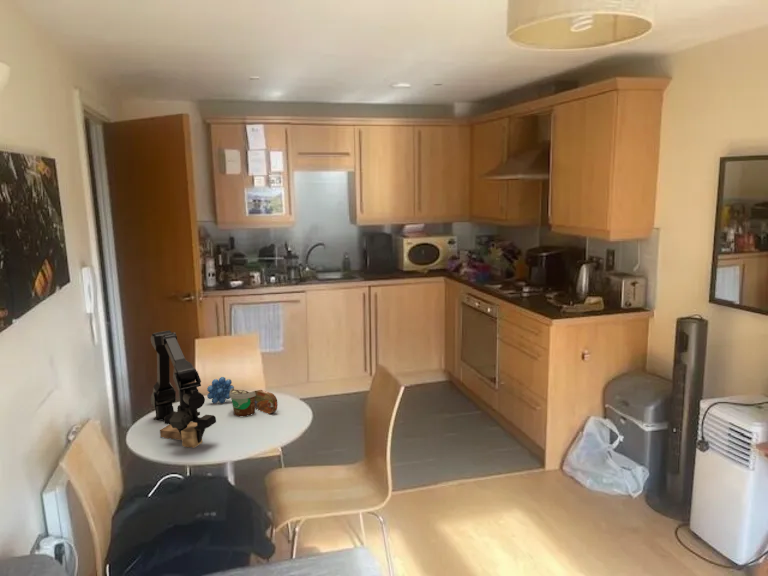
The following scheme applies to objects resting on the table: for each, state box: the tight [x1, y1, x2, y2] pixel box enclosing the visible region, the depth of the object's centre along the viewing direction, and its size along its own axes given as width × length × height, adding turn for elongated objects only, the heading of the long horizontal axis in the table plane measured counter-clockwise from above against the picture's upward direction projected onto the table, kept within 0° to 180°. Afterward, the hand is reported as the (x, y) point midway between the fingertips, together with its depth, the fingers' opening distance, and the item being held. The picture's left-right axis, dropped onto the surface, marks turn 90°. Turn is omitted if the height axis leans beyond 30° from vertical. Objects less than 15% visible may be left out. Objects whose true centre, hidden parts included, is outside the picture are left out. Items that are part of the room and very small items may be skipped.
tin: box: [254, 389, 278, 415], centre depth 241 cm, size 15×3×8 cm, turn 48°
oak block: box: [181, 426, 203, 449], centre depth 212 cm, size 5×5×6 cm
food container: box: [229, 387, 256, 417], centre depth 238 cm, size 12×6×10 cm, turn 62°
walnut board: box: [159, 422, 197, 441], centre depth 223 cm, size 12×14×3 cm
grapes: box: [206, 376, 235, 404], centre depth 252 cm, size 12×7×12 cm, turn 97°
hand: (192, 441), depth 212 cm, fingers open, 6 cm apart
